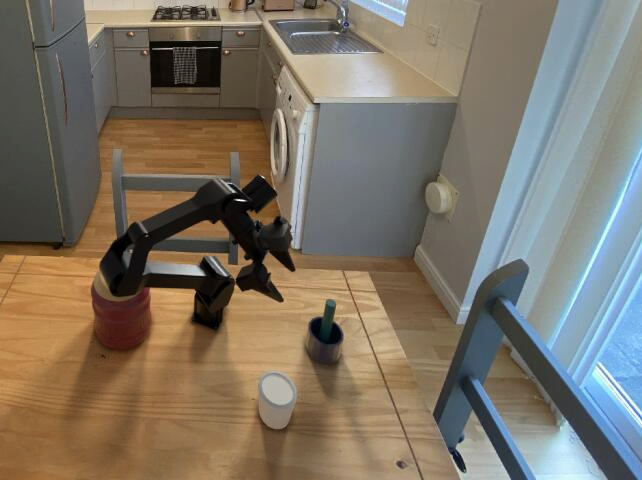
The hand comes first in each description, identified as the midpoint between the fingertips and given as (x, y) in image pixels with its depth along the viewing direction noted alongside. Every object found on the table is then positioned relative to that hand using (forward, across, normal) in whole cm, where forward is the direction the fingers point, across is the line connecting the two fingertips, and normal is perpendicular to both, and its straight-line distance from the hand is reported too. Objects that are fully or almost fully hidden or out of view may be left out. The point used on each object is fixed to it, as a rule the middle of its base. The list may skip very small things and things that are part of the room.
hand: (288, 285), depth 89 cm
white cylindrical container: (+12, -18, +7) cm, 23 cm away
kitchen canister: (-13, -17, +32) cm, 38 cm away
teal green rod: (+15, 0, +3) cm, 16 cm away
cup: (+16, 0, +4) cm, 16 cm away
